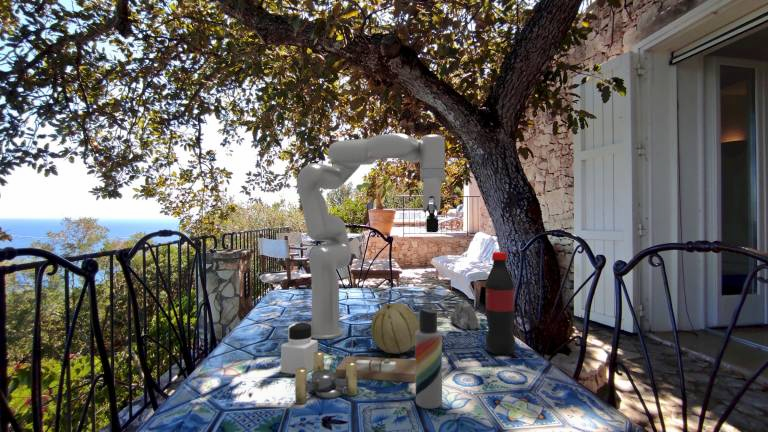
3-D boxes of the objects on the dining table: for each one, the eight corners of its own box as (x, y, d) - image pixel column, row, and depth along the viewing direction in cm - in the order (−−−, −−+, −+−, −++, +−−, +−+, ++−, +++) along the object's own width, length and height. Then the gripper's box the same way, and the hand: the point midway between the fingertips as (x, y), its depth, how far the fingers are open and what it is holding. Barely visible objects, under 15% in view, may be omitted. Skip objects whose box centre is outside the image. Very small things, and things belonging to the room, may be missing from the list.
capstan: (293, 403, 84) (293, 371, 84) (315, 378, 97) (315, 350, 97) (348, 408, 81) (348, 374, 82) (363, 382, 95) (363, 353, 95)
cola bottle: (511, 348, 121) (510, 251, 121) (518, 357, 112) (517, 252, 113) (483, 347, 121) (482, 250, 122) (488, 356, 113) (487, 252, 114)
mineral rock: (450, 321, 156) (450, 295, 156) (478, 322, 153) (478, 296, 154) (448, 329, 143) (448, 301, 143) (479, 331, 141) (478, 303, 141)
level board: (335, 377, 98) (335, 358, 98) (346, 363, 108) (346, 346, 108) (415, 382, 95) (414, 362, 95) (418, 367, 105) (418, 349, 105)
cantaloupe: (426, 348, 121) (426, 299, 121) (409, 363, 108) (409, 309, 108) (383, 342, 127) (383, 296, 127) (362, 356, 114) (362, 304, 114)
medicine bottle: (318, 366, 106) (318, 321, 106) (304, 376, 99) (304, 328, 99) (295, 363, 108) (295, 320, 109) (280, 372, 101) (280, 326, 102)
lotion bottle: (413, 397, 86) (413, 306, 87) (438, 396, 87) (438, 306, 87) (418, 410, 81) (417, 312, 81) (445, 408, 81) (444, 312, 82)
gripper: (422, 179, 129) (422, 231, 129) (417, 172, 112) (418, 232, 112) (445, 178, 128) (445, 231, 128) (444, 171, 111) (444, 232, 110)
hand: (432, 231), depth 120 cm, fingers open, 9 cm apart
